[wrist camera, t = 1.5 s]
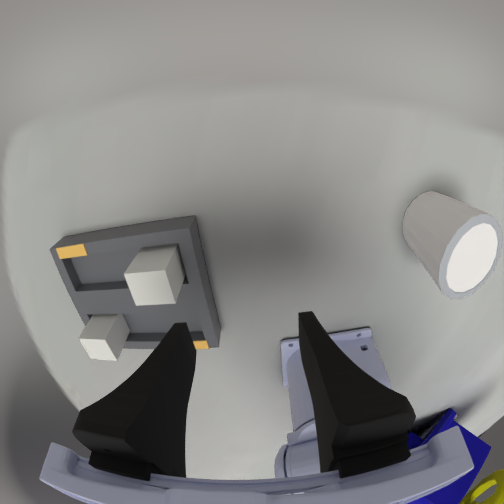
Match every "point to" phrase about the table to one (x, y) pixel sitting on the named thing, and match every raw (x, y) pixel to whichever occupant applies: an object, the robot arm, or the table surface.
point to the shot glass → (453, 242)
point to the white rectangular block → (156, 275)
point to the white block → (105, 336)
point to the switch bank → (116, 288)
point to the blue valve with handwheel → (451, 496)
